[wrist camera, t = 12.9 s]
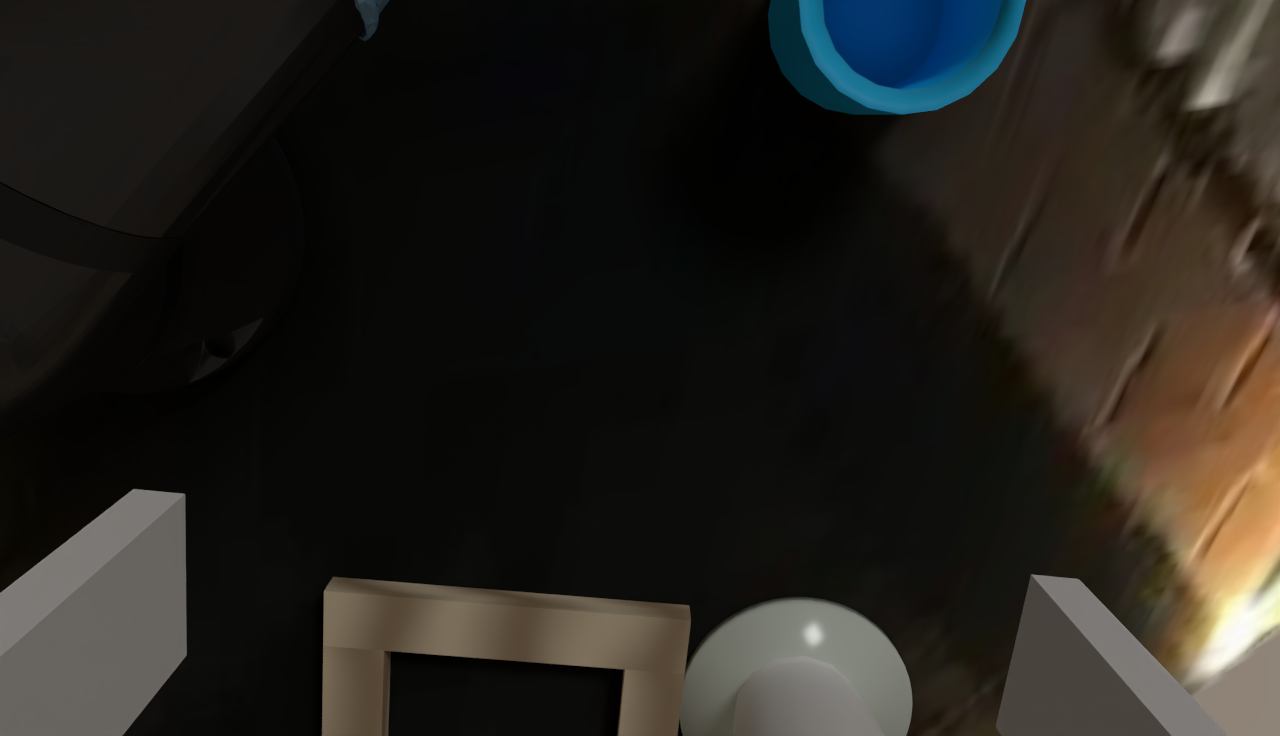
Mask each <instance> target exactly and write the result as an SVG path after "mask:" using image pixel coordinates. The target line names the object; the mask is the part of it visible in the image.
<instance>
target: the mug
mask: <svg viewBox="0 0 1280 736" xmlns="http://www.w3.org/2000/svg"><path fill="white" fill-rule="evenodd" d="M1025 2H1026V0H771V2H770V7H769V12H768V23H769V33H770V44H771V48H772V50H773V53H774V55H775V57H776V60H777V62H778V64H779V67H780V69H781V71H782V74H783V75H784V76H785V77H786V78H787V79H788V80H789V82H790V83H791V84H792V85H793V86H794V87H795V88H796V90H797V91H798V92H799V93H800V94H801V95H802V96H804V97H806V98H807V99H809V100H811V101H813V102H814V103H816V104H818V105H820V106H821V107H823V108H825V109H828V110H833V111H838V112H843V113H849V114H866V115H902V114H910V113H917V112H924V111H932V110H937V109H939V108H942V107H944V106H946V105H948V104H950V103H952V102H954V101H956V100H958V99H960V98H962V97H964V96H967V95H969V94H970V93H971V92H972V91H973V90H974V89H976V88H977V87H978V86H979V85H980V84H981V83H982V82H983V81H984V80H985V79H986V78H988V77H989V76H990V75H991V74H992V73H993V72H994V71H995V70H996V69H997V68H998V66H999V65H1000V63H1001V61H1002V60H1003V58H1004V56H1005V55H1006V53H1007V51H1008V50H1009V48H1010V46H1011V45H1012V43H1013V41H1014V40H1015V38H1016V36H1017V33H1018V29H1019V25H1020V21H1021V17H1022V14H1023V10H1024V6H1025Z"/></svg>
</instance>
